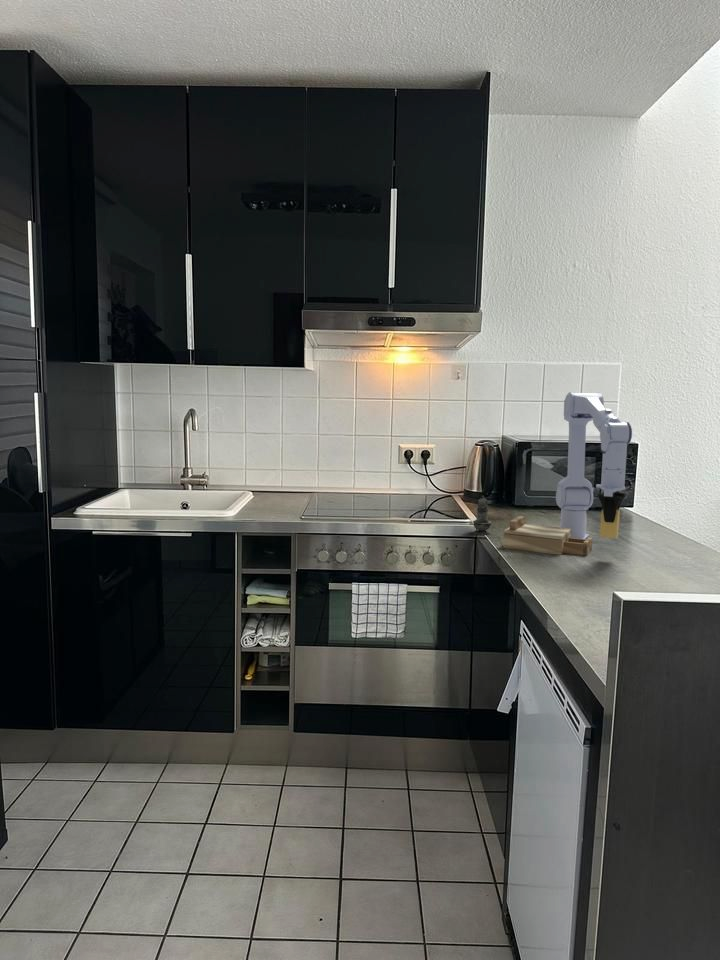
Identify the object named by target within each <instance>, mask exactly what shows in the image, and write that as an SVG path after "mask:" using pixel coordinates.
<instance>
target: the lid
mask: <svg viewBox="0 0 720 960" xmlns="http://www.w3.org/2000/svg"><path fill="white" fill-rule="evenodd" d="M525 522H526V516H522V515H519V516H517V517H515V518H513V519H511V520H509V527H507V528H506V529H504V530H503V534H504V533H506V534H515V535H524V536H533V537H543V538H552V539H561V540H562V539H563V538H564V537H566V536H567V535H568V534H569V533H570V532H572V529H569V528H560V527H558V526H547V525H538V524H537V525H536V524H529V523H525Z"/></svg>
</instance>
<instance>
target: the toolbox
mask: <svg viewBox="0 0 720 960" xmlns="http://www.w3.org/2000/svg"><path fill="white" fill-rule="evenodd" d="M571 534H572V532H570V533H569V534H568V535H567V536H566V537H564V538H563V539H562V540H561V539H552V538H543V537H533V536H524V535H515V534H506V533H504V532H503V538H502V539H503V540H502V541H503V542H502V548H503V549H511V550H518V551H526V552H527V551H528V552H533V553H535V552H536V553H541V554H543V553H544V554H551V555H559V556H561V555H562V554H571V555H572V554H573V555H579V556H588V555H589V554H590V553H591V552H592V551H591V550H592V549H593V537H590V536H588V537H587V538H586V539H579V538H571Z"/></svg>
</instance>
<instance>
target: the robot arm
mask: <svg viewBox="0 0 720 960" xmlns="http://www.w3.org/2000/svg"><path fill="white" fill-rule="evenodd" d="M563 401H564V402H563V420H565V421H566V422H568V445H567V447H568V448H567V449H568V450H567V451H568V453H567V475H566V476H565V477H564V478H562V479H561V480H560V481H559V482H558V483H557V489H556V491H555V502H556V505H557V506H558V507H559V508H560V510H561V511H560V525H559V526H560V527H559V528H569V529H572V534H571V538H579V539H587V538H588V537H590V534H589V533H586V532H587V519H588V515H587V511H588V510H589V508H591V507H592V505H593V504H594V491H593V484H592V482H590V481H589V480H588V479H587V478H585V464H586V438H587V437H586V434H587V432H586V431H587V425H588V423H589V422H591V421H592V423H593V426H594V427H595V428H596V430H598V432H599V439H600V449H601V451H602V463H601V464H602V465H601V477H600V478H601V479H600V480H601V481H600V484H598V483H597V484H595V487H596V489H600V490H602V491H603V492H602V493H599V494H598V496H597V497H598V500H599V502H600V504H601V507H602V508H601V509H603V514H604V520H605V522H611V523H613V522H614V520H615V516H616V511H617V509H618V510H620V508H621V507H620V506H621V504H622V501H623V499H624V497H625V496H626V494H627V493H626V492H621V491H626V486H625V481H626V470H627V468H626V466H627V452H628V445H629V444H630V443H631V441H632V438H633V429H632V425H631V424H630V421H623V422H622V421H621V420H620V418H618V416H617V414H615V413H614V412H613V411H612V409H611V408H605V406H604V404H605V400H604V397H603V395H602V394H601V392H594V393H592V392H568V393H567V394H565V399H564V400H563Z"/></svg>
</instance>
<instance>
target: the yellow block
mask: <svg viewBox="0 0 720 960" xmlns="http://www.w3.org/2000/svg"><path fill="white" fill-rule="evenodd" d="M620 514H621V509H619V510H618V509H617V511H616V516H615V520H614V522H613V523H611V522H605V520H604V514H603V508H601V514H600V515H601V516H600V527H599V529H600V530H599V537H600V538H608V539H615V540H616V539H617V538H618V537H619V530H620V527H619V526H620V516H621V515H620Z"/></svg>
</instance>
